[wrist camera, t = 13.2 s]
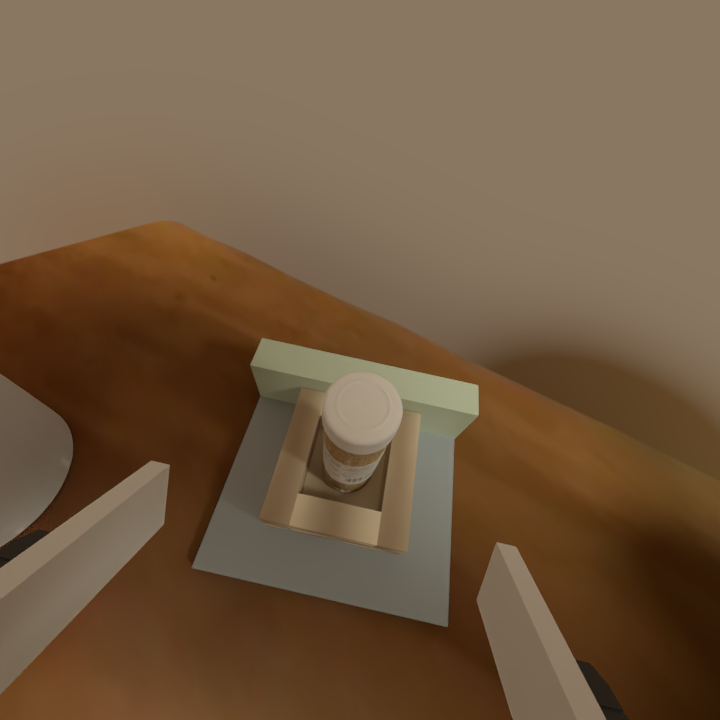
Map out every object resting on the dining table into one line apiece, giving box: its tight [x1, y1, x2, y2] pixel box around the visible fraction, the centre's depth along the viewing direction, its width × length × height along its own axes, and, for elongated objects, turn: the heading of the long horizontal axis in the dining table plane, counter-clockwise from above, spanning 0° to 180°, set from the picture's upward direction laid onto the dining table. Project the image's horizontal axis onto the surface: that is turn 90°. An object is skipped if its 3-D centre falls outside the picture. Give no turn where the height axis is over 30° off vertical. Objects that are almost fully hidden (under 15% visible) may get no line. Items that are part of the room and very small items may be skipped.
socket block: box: [259, 388, 421, 555], centre depth 29 cm, size 11×11×4 cm
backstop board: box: [192, 338, 479, 627], centre depth 28 cm, size 20×18×7 cm
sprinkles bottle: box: [322, 371, 403, 493], centre depth 24 cm, size 5×5×13 cm
